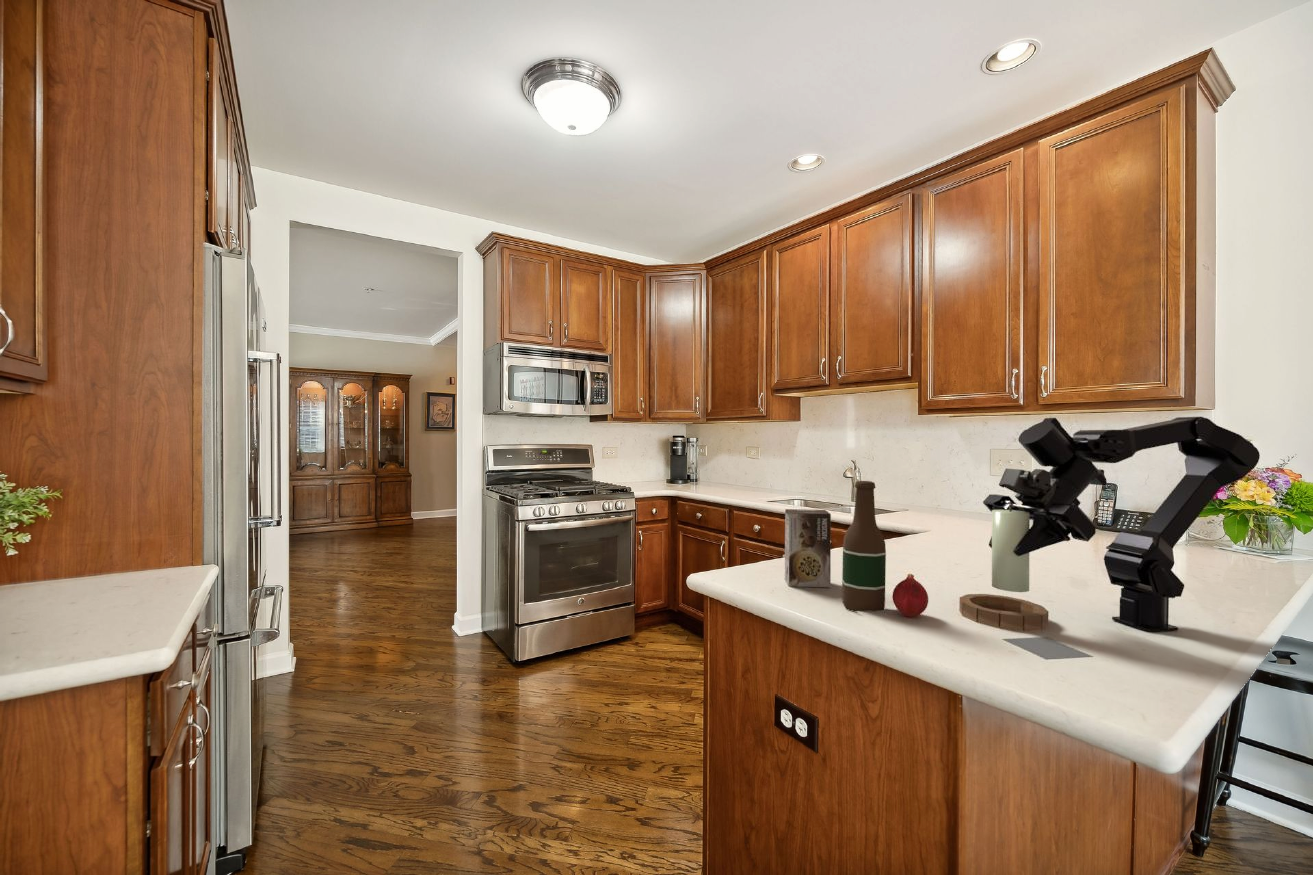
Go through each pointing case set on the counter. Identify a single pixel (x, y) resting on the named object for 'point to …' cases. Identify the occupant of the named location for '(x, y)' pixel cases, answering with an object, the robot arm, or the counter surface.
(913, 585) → the onion
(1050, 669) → the counter surface
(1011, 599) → the bowl
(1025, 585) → the candle
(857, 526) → the beer bottle
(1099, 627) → the counter surface
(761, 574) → the counter surface
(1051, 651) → the mat
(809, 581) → the coffee box
